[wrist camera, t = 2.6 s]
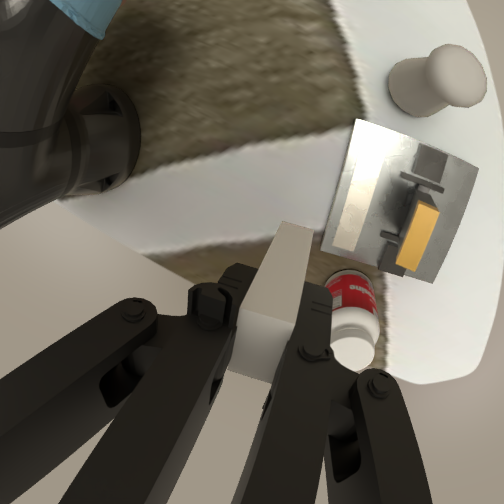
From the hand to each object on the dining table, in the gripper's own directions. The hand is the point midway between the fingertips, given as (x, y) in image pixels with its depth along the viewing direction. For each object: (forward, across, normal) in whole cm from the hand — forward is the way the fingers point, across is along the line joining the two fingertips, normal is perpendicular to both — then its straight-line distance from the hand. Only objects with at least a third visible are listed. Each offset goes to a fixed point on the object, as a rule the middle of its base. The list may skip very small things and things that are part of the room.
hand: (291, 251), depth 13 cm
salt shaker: (+18, +8, +12) cm, 23 cm away
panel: (+18, +10, 0) cm, 20 cm away
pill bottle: (+18, +8, -12) cm, 23 cm away
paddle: (+15, +11, 0) cm, 18 cm away
